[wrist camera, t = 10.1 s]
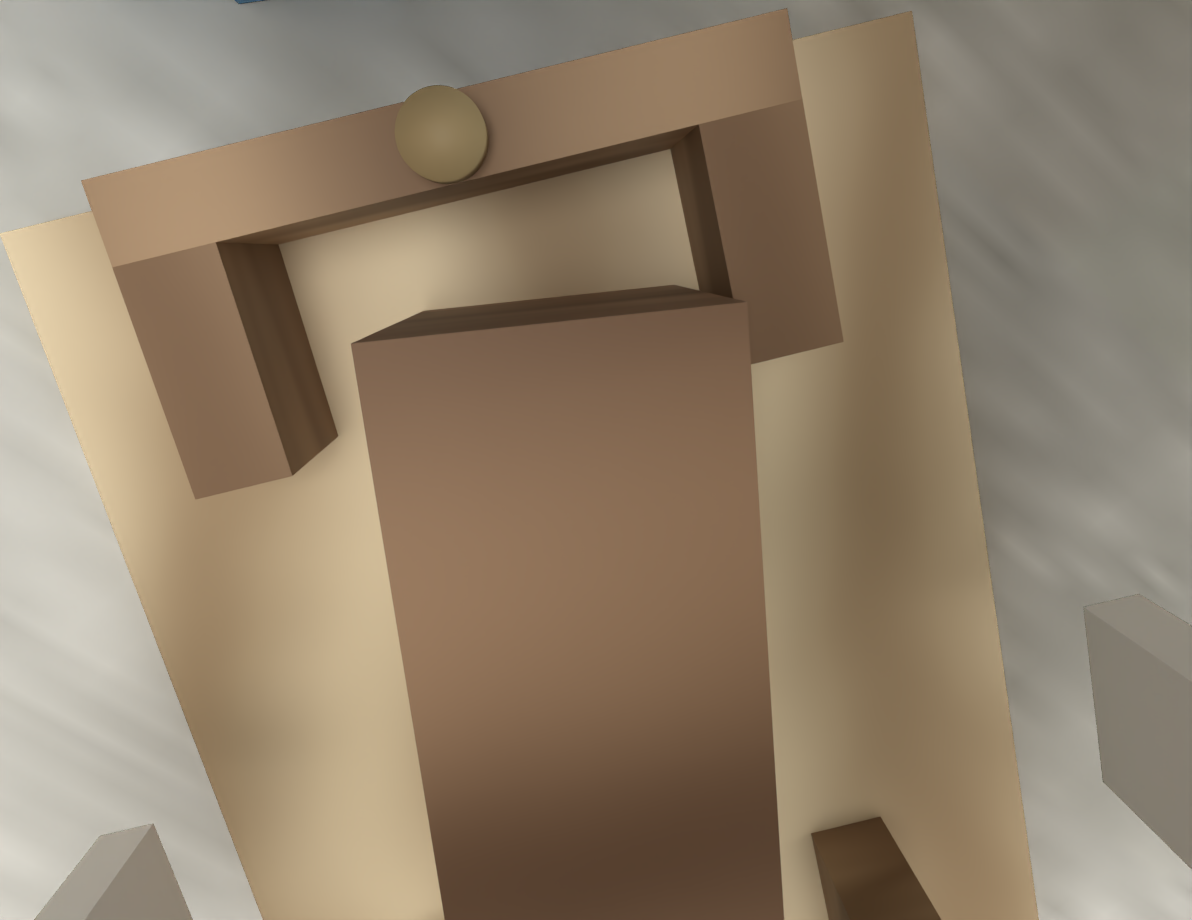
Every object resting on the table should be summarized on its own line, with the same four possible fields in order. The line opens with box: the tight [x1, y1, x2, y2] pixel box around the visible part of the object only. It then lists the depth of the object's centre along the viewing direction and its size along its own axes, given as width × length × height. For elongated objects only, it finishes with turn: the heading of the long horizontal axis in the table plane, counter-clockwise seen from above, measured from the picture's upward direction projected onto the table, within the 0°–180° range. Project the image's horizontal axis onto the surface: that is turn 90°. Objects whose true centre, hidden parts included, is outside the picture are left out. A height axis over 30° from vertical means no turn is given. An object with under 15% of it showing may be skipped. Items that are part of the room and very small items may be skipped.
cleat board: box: [0, 8, 1039, 920], centre depth 16 cm, size 16×20×5 cm
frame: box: [351, 285, 784, 920], centre depth 15 cm, size 14×5×6 cm, turn 6°
